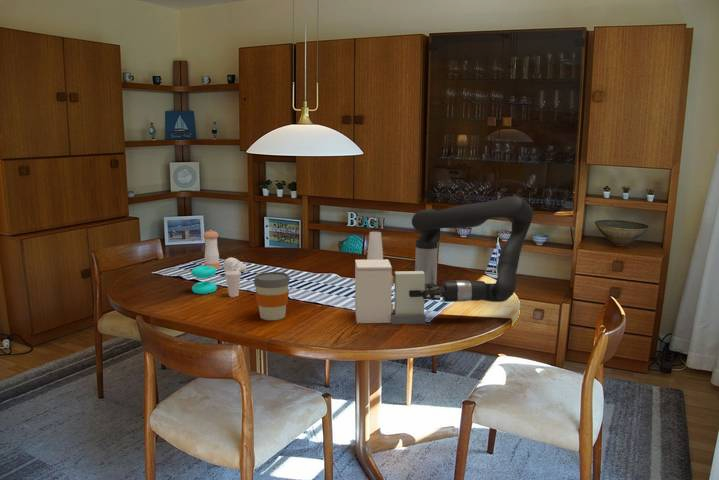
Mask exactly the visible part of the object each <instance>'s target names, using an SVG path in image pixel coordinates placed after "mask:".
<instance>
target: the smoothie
mask: <svg viewBox="0 0 719 480" xmlns="http://www.w3.org/2000/svg"><path fill="white" fill-rule="evenodd" d="M224 276H225V280H226V285H227V291H228V297H229V296H230V297H229V298H235V297H236V296H237V297H238V296H239V294H240V292H239V291H240V285H241V283H240V282H241V280H240V279H241V276H242V273H241V272H240V271H233V263H232V262H231V271H228V272H225V271H224Z"/></svg>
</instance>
